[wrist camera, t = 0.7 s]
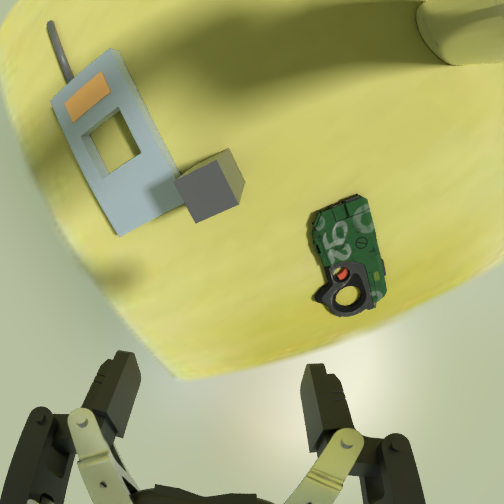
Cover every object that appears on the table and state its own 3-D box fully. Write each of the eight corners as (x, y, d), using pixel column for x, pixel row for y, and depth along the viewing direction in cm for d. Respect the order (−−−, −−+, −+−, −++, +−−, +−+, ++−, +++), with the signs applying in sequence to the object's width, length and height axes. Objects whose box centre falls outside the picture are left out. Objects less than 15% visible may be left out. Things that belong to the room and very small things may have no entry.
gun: (284, 223, 30) (368, 192, 28) (283, 219, 31) (364, 189, 29) (324, 325, 37) (390, 301, 35) (323, 318, 38) (387, 295, 36)
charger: (229, 148, 27) (216, 159, 20) (245, 181, 29) (238, 204, 22) (195, 164, 28) (173, 181, 21) (212, 196, 30) (195, 223, 23)
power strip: (90, -12, 16) (81, -16, 14) (192, 196, 30) (187, 202, 28) (37, 36, 19) (27, 35, 17) (126, 230, 32) (118, 238, 30)
